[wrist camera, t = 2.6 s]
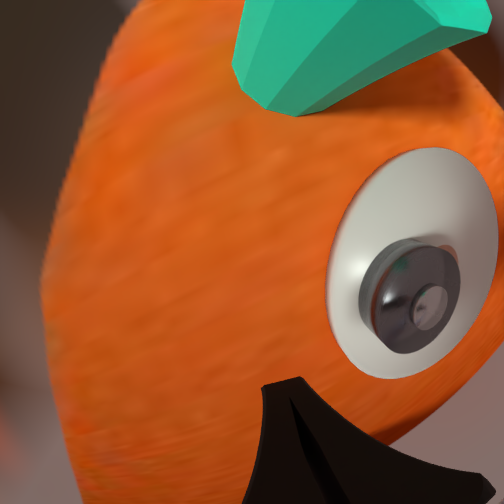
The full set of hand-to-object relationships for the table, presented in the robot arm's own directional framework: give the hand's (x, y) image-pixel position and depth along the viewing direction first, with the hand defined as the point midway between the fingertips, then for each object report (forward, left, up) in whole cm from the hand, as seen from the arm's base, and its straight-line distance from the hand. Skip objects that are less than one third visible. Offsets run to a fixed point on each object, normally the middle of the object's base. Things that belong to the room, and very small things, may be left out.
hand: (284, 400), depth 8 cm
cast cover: (0, -9, -5) cm, 10 cm away
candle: (+13, -4, -7) cm, 15 cm away
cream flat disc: (0, -12, -7) cm, 14 cm away
